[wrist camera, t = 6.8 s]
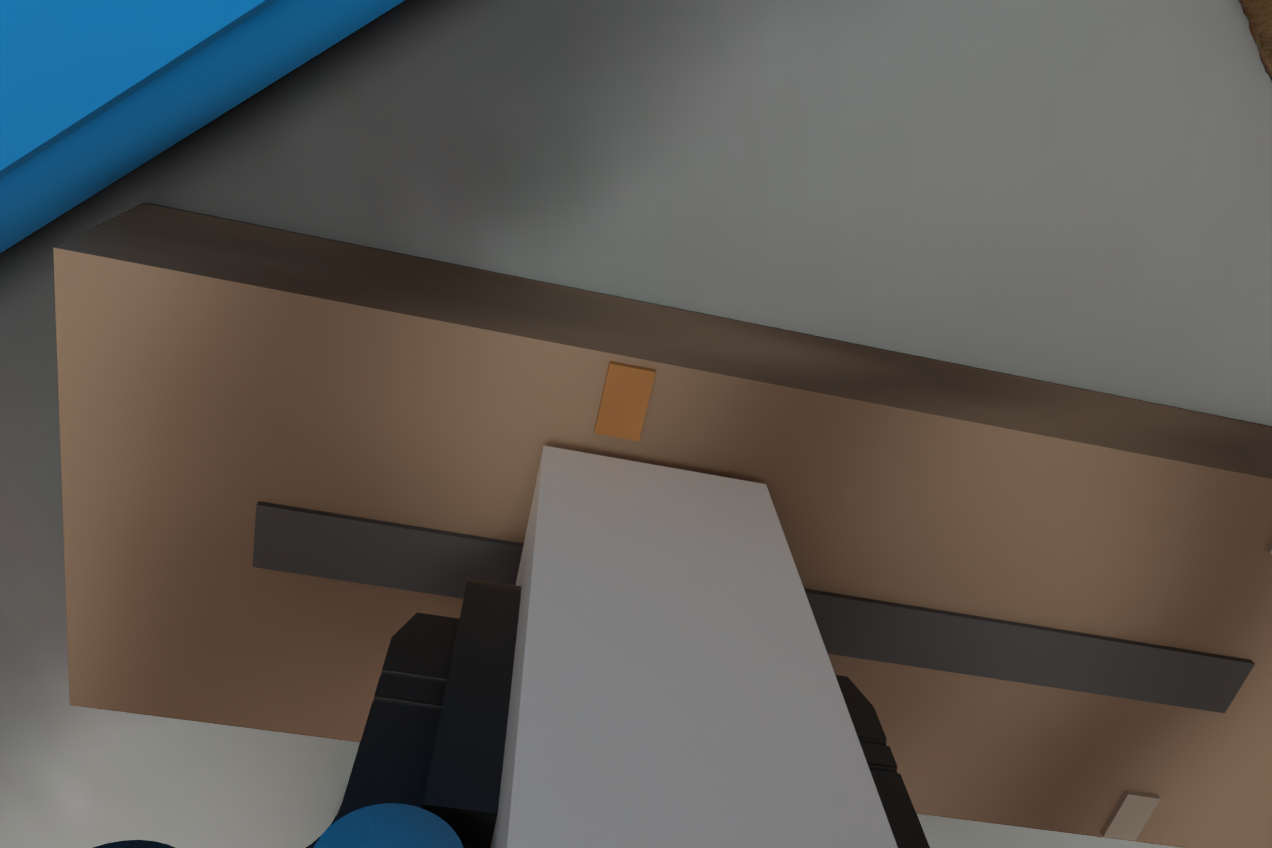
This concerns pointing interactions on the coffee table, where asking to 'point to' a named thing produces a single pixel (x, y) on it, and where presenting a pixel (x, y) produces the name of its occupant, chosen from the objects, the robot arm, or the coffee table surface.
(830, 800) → the fader knob
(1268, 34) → the brown carved statuette
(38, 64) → the book
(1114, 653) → the fader strip
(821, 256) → the coffee table surface
